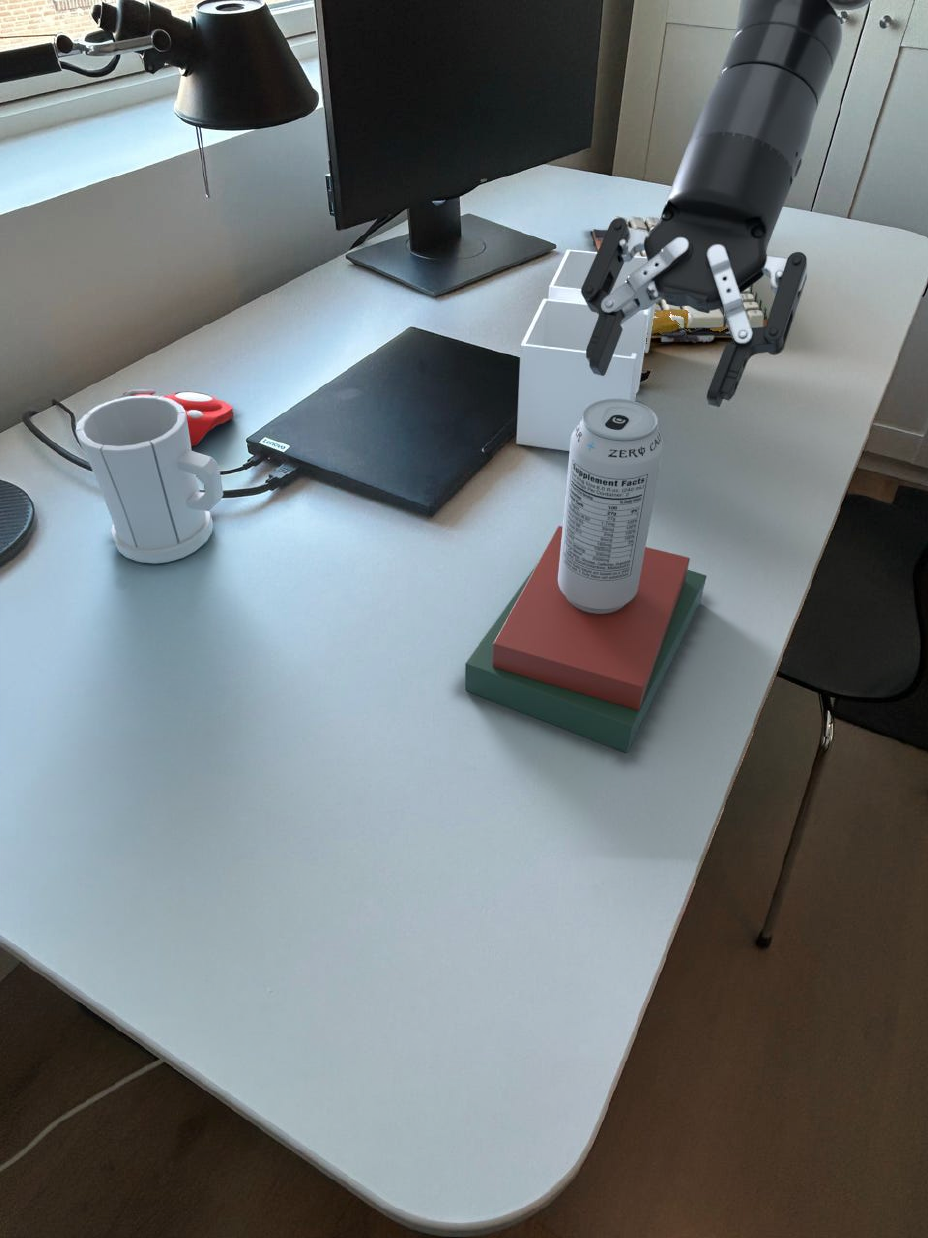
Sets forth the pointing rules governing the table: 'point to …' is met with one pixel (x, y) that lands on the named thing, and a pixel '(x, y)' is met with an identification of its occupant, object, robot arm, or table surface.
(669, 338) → the mechanical keyboard
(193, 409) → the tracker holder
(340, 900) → the table surface
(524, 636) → the book stack
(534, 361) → the storage container
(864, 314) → the table surface
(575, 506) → the energy drink can
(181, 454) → the cup
